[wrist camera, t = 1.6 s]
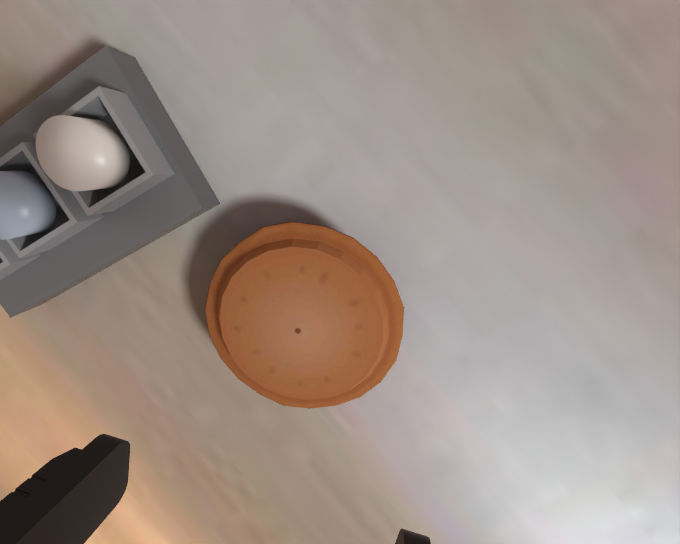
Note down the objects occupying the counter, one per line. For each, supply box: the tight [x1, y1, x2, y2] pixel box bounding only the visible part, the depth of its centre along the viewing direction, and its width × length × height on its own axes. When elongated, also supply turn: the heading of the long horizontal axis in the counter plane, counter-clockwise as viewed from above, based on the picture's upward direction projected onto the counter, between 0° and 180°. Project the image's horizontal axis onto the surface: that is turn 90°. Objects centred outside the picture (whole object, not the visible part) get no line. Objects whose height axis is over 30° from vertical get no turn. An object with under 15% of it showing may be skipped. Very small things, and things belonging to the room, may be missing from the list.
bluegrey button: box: [0, 171, 56, 240], centre depth 25 cm, size 4×4×2 cm
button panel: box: [0, 46, 220, 317], centre depth 28 cm, size 12×21×6 cm, turn 118°
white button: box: [36, 115, 130, 191], centre depth 23 cm, size 4×4×2 cm
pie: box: [205, 222, 404, 408], centre depth 29 cm, size 15×16×5 cm
